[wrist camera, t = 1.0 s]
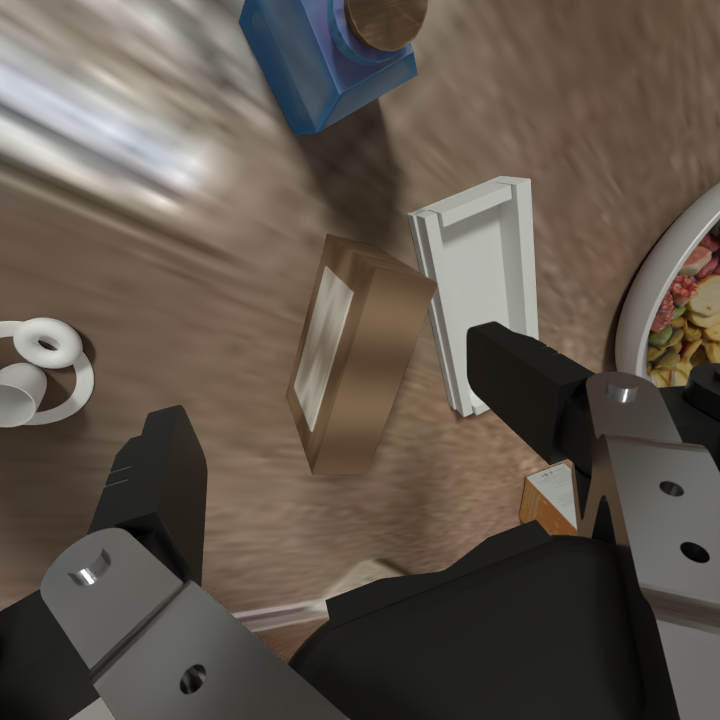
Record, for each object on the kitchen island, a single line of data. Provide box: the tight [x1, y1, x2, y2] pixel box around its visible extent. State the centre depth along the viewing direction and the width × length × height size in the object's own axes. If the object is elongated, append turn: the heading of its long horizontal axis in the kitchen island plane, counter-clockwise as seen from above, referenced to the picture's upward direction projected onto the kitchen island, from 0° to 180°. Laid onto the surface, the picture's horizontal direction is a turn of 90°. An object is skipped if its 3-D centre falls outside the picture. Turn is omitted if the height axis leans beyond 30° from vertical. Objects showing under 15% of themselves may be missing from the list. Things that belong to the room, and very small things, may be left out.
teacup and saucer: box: [0, 318, 94, 427], centre depth 26 cm, size 9×8×4 cm
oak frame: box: [286, 234, 438, 475], centre depth 29 cm, size 14×4×10 cm, turn 163°
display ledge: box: [407, 176, 539, 417], centre depth 35 cm, size 8×20×4 cm, turn 18°
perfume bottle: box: [239, 0, 428, 136], centre depth 19 cm, size 6×6×12 cm
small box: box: [519, 463, 577, 536], centre depth 49 cm, size 8×6×13 cm
